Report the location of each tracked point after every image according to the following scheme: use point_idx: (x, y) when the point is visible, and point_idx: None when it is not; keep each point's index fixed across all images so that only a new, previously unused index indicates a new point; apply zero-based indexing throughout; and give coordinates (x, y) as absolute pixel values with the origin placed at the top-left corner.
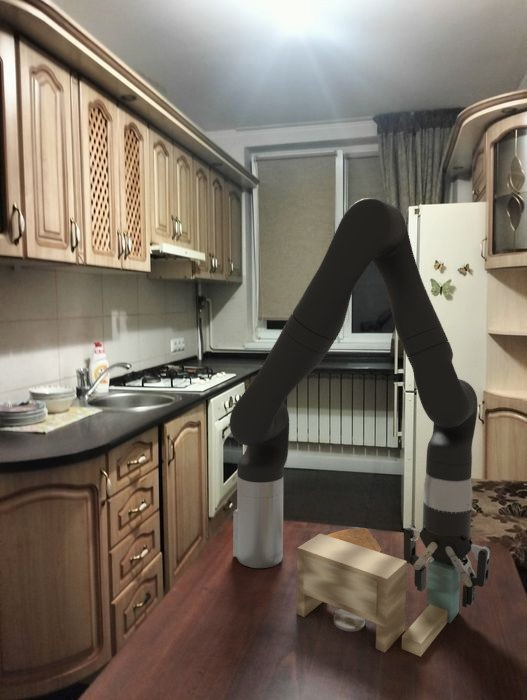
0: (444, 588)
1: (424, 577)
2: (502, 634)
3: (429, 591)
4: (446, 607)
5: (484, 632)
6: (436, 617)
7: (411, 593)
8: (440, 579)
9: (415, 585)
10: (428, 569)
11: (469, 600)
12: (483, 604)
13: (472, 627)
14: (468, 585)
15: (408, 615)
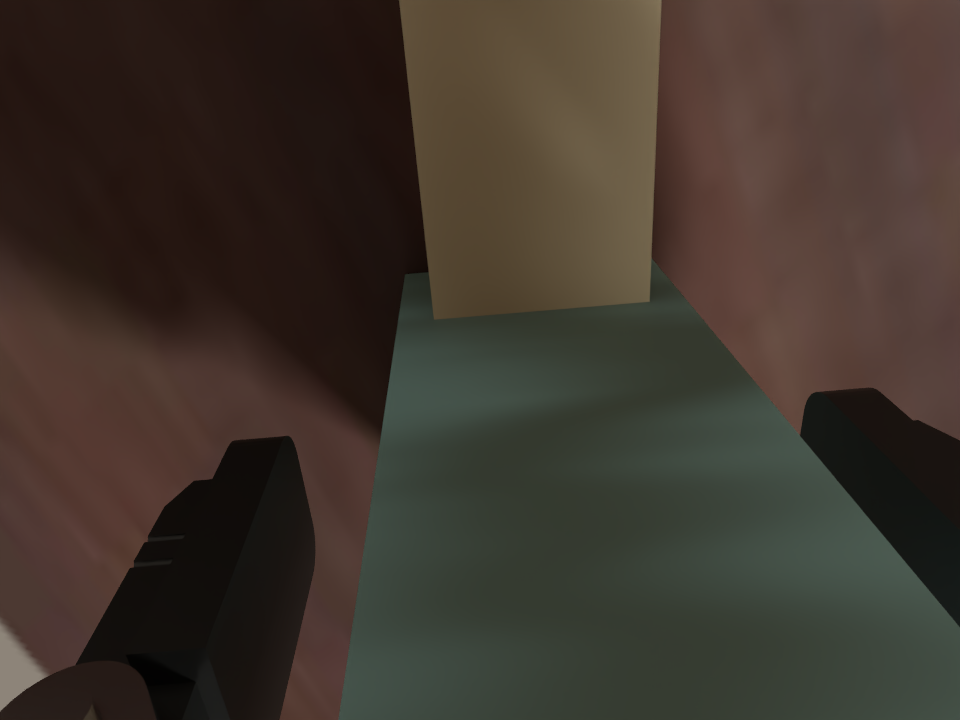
0: (499, 463)
1: None
2: (2, 430)
3: (711, 371)
4: (448, 331)
5: (115, 356)
6: (468, 81)
7: None
8: (603, 552)
9: (922, 424)
10: (956, 637)
11: (189, 516)
12: (340, 675)
13: (229, 355)
14: (76, 682)
15: (800, 108)
